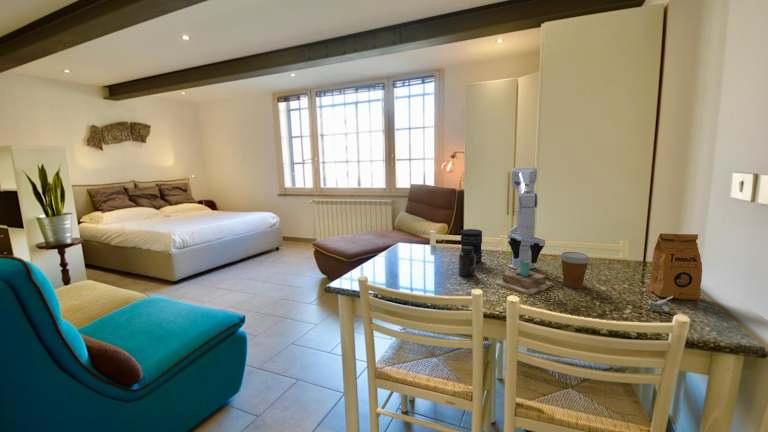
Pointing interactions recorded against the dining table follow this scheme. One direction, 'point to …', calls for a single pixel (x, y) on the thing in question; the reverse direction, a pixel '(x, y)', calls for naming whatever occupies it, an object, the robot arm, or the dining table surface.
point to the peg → (524, 269)
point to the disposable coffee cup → (574, 268)
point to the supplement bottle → (467, 262)
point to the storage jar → (473, 242)
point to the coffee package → (676, 267)
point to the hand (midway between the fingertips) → (524, 260)
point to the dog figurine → (660, 304)
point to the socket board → (521, 290)
